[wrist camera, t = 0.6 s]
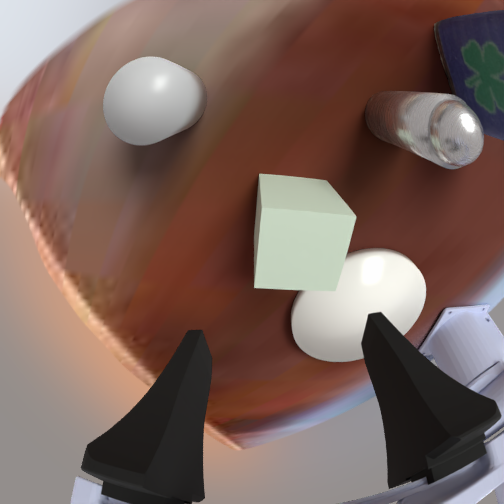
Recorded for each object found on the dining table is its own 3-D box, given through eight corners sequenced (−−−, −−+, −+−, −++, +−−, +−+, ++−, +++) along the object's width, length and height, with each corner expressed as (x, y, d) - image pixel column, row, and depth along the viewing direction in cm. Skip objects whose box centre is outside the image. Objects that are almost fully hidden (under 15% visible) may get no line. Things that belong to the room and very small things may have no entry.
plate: (439, 253, 20) (446, 260, 19) (390, 349, 27) (393, 357, 26) (305, 242, 20) (308, 250, 19) (280, 353, 26) (281, 363, 25)
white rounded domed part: (209, 66, 13) (191, 52, 9) (205, 132, 16) (187, 144, 11) (142, 71, 13) (104, 64, 9) (140, 134, 16) (104, 148, 11)
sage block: (326, 180, 17) (356, 216, 12) (315, 239, 20) (335, 291, 14) (259, 173, 17) (261, 207, 12) (254, 234, 19) (254, 287, 14)
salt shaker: (413, 99, 14) (502, 115, 6) (405, 146, 16) (489, 187, 8) (368, 85, 14) (451, 84, 6) (361, 135, 16) (438, 169, 8)
